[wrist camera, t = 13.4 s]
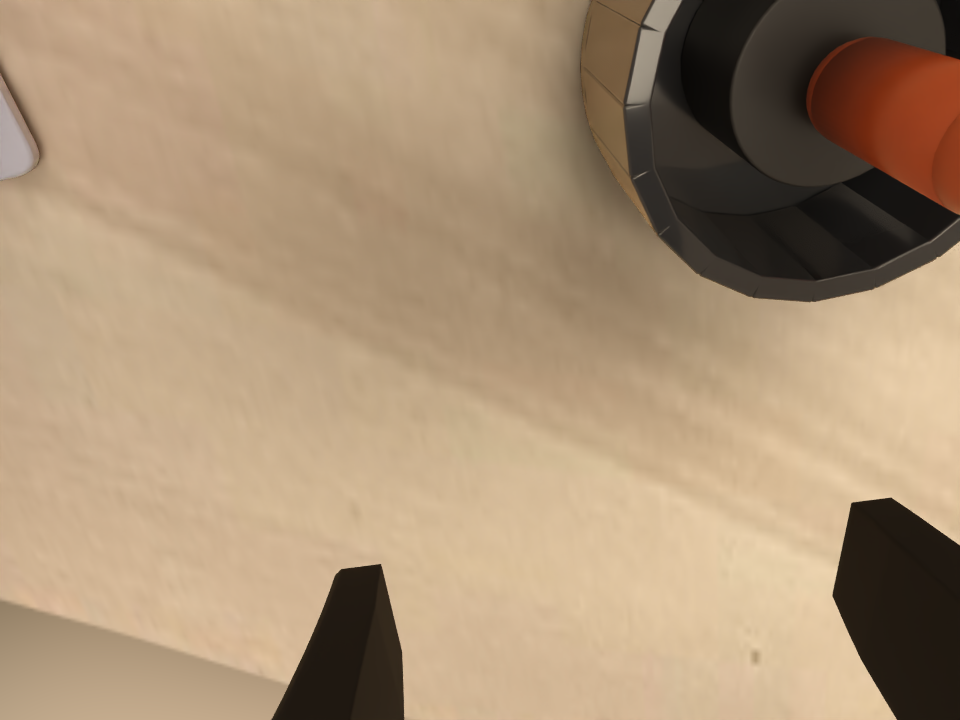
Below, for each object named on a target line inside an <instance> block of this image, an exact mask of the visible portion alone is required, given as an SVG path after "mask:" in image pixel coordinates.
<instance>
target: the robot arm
mask: <svg viewBox="0 0 960 720" xmlns="http://www.w3.org/2000/svg"><path fill="white" fill-rule="evenodd" d="M38 162H39V151H38V147H37V144H36V142H35V140H34V139H33V137H32V135H31V133H30V131H29V129H28V127H27V125H26V123H25V121H24V119H23V117H22V115H21V113H20V111H19V109H18V107H17V105H16V103H15V101H14V99H13V97H12V95H11V94H10V92H9V90H8V88H7V86H6V84H5V82H4V80H3V78H2V76H1V74H0V181H2V180H6V179H10V178H15V177H19V176H22V175H24V174H26V173H28V172H30V171H31V170H32V169H34V168H35V166H36V165H37V163H38ZM832 596H833V598H834V600H835V603H836V605H837V607H838V610H839V612H840V614H841V617H842V619H843V621H844V623H845V626H846V628H847V630H848V633H849V635H850V637H851V639H852V641H853V643H854V645H855V647H856V650H857V652H858V654H859V656H860V658H861V660H862V662H863V663H864V665H865V667H866V669H867V670H868V672H869V674H870V675H871V677H872V679H873V681H874V682H875V684H876V686H877V687H878V689H879V691H880V692H881V694H882V696H883V697H884V699H885V701H886V702H887V704H888V706H889V707H890V709H891V711H892V712H893V714H894V715H895V717H896V719H897V720H960V545H958V544H957V543H956V542H954V541H953V540H951V539H950V538H948V537H947V536H946V535H944V534H943V533H941V532H940V531H939V530H937V529H936V528H934V527H933V526H932V525H930V524H929V523H927V522H926V521H924V520H923V519H922V518H920V517H919V516H917V515H916V514H914V513H913V512H912V511H910V510H909V509H907V508H906V507H904V506H903V505H901V504H900V503H898V502H897V501H895V500H894V499H892V498H885V499H877V500H869V501H862V502H854V503H851V508H850V513H849V518H848V522H847V527H846V532H845V537H844V542H843V547H842V551H841V556H840V561H839V566H838V571H837V576H836V580H835V585H834V590H833V595H832ZM272 720H404V694H403V664H402V650H401V645H400V641H399V637H398V633H397V629H396V625H395V620H394V616H393V612H392V608H391V604H390V599H389V595H388V591H387V587H386V583H385V578H384V574H383V570H382V566H381V564H378V565H370V566H362V567H355V568H347V569H341V570H340V571H339V572H338V573H337V574H336V575H335V577H334V580H333V583H332V586H331V589H330V592H329V594H328V597H327V600H326V602H325V605H324V608H323V610H322V613H321V615H320V618H319V620H318V622H317V625H316V627H315V629H314V632H313V634H312V636H311V639H310V641H309V643H308V646H307V648H306V650H305V652H304V655H303V657H302V659H301V661H300V663H299V665H298V667H297V669H296V671H295V673H294V676H293V678H292V680H291V682H290V684H289V686H288V688H287V690H286V692H285V694H284V697H283V699H282V701H281V702H280V704H279V706H278V708H277V710H276V712H275V714H274V716H273V718H272Z"/></svg>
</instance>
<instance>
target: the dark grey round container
mask: <svg viewBox="0 0 960 720" xmlns="http://www.w3.org/2000/svg"><path fill="white" fill-rule="evenodd" d="M703 2H704V0H591V4H590V7H589V10H588V13H587V18H586V23H585V29H584V34H583V39H582V51H581V67H580V69H581V86H582V96H583V101H584V106H585V111H586V116H587V119H588V122H589V125H590V128H591V131H592V134H593V137H594V140H595V142H596V144H597V146H598V148H599V150H600V152H601V154H602V156H603V158H604V159H605V161H606V162H607V164H608V166H609V168H610V170H611V172H612V174H613V176H614V177H615V179H616V180H617V181H618V183H619V184H620V185H621V187H622V188H623V190H624V191H625V192H626V194H627V195H628V196H629V198H630V199H631V200H632V202H633V203H634V205H635V206H636V207H637V209H638V210H639V211H640V213H641V214H642V216H643V217H644V218H645V220H646V221H647V222H648V224H649V225H650V227H651V228H652V229H653V231H654V232H655V233H656V235H657V236H658V237H659V238H660V239H661V240H662V241H663V242H664V243H665V244H666V245H667V246H668V247H669V248H670V249H671V250H672V251H673V252H674V253H675V254H677V255H678V256H679V257H680V258H681V259H682V260H683V261H684V262H685V263H686V264H687V265H688V266H689V267H690V268H691V269H692V270H693V271H694V272H695V273H696V274H699V275H700V276H701V277H704V278H706V279H708V280H711V281H713V282H716V283H718V284H720V285H723V286H725V287H727V288H730V289H732V290H734V291H737V292H739V293H741V294H744V295H746V296H748V297H753V298H761V299H774V300H788V301H801V302H811V301H812V302H816V301H821V300H826V299H830V298H835V297H840V296H845V295H849V294H854V293H859V292H864V291H868V290H873V289H874V288H878V287H880V286H882V285H884V284H886V283H888V282H890V281H892V280H895V279H897V278H899V277H901V276H903V275H905V274H907V273H909V272H911V271H913V270H915V269H917V268H919V267H921V266H923V265H925V264H928V263H930V262H932V261H934V260H935V259H937V257H941V256H942V255H943V254H944V253H946V252H947V251H948V250H949V249H951V248H952V247H953V246H954V245H956V244H957V243H958V242H959V241H960V215H959V214H956V213H954V212H952V211H950V210H948V209H947V208H945V207H943V206H942V205H940V204H938V203H936V202H935V201H933V200H931V199H929V198H928V197H926V196H924V195H923V194H921V193H919V192H917V191H916V190H914V189H912V188H910V187H909V186H907V185H905V184H903V183H902V182H900V181H898V180H897V179H895V178H893V177H891V176H890V175H888V174H886V173H884V172H883V171H881V170H879V169H878V168H876V167H874V168H872V169H871V170H869V171H867V172H865V173H863V174H861V175H860V176H857V177H855V178H852V179H850V180H848V181H845V182H841V183H838V184H834V185H829V186H823V187H807V188H805V187H795V186H790V185H786V184H782V183H779V182H777V181H775V180H772V179H770V178H768V177H767V176H765V175H764V174H762V173H760V172H759V171H758V170H757V169H755V168H754V167H753V166H751V165H750V164H749V163H748V162H746V161H745V160H744V159H743V158H741V157H740V156H739V155H737V154H736V153H735V152H734V151H732V150H731V149H730V148H728V147H727V146H726V145H725V144H723V143H722V142H721V141H720V140H718V139H717V138H716V137H714V136H713V135H712V134H711V133H709V132H708V131H707V130H706V129H705V128H704V127H703V126H702V125H701V124H700V123H699V122H698V120H697V119H696V118H695V116H694V114H693V113H692V111H691V110H690V107H689V105H688V103H687V100H686V97H685V94H684V90H683V84H682V76H681V62H682V54H683V48H684V44H685V40H686V36H687V33H688V31H689V28H690V25H691V23H692V21H693V19H694V17H695V15H696V13H697V11H698V9H699V8H700V6H701V5H702V3H703ZM936 2H937V4H938V7H939V9H940V12H941V14H942V18H943V22H944V27H945V35H946V56H949V57H952V58H956V59H959V60H960V0H936Z"/></svg>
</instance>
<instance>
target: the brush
mask: <svg viewBox="0 0 960 720" xmlns="http://www.w3.org/2000/svg"><path fill="white" fill-rule="evenodd" d="M681 76H682V84H683V90H684V94H685V97H686V100H687V103H688V105H689V107H690V110H691V111H692V113H693V114H694V116H695V118H696V119H697V120H698V122H699V123H700V124H701V125H702V126H703V127H704V128H705V129H706V130H707V131H708V132H709V133H711V134H712V135H713V136H714V137H716V138H717V139H718V140H720V141H721V142H722V143H723V144H725V145H726V146H727V147H728V148H730V149H731V150H732V151H734V152H735V153H736V154H737V155H739V156H740V157H741V158H743V159H744V160H745V161H746V162H748V163H749V164H750V165H751V166H753V167H754V168H755V169H757V170H758V171H759V172H760V173H762V174H764V175H765V176H767V177H768V178H770V179H772V180H775V181H777V182H779V183H782V184H786V185H790V186H795V187H805V188H807V187H823V186H829V185H834V184H838V183H841V182H845V181H848V180H850V179H852V178H855V177H857V176H860V175H861V174H863V173H865V172H867V171H869V170H871V169H872V168H874V167H876V168H878V169H879V170H881V171H883V172H884V173H886V174H888V175H890V176H891V177H893V178H895V179H897V180H898V181H900V182H902V183H903V184H905V185H907V186H909V187H910V188H912V189H914V190H916V191H917V192H919V193H921V194H923V195H924V196H926V197H928V198H929V199H931V200H933V201H935V202H936V203H938V204H940V205H942V206H943V207H945V208H947V209H948V210H950V211H952V212H954V213H956V214H959V215H960V60H959V59H956V58H952V57H949V56H946V35H945V27H944V22H943V18H942V14H941V12H940V9H939V7H938V4H937V2H936V0H704V2H703V3H702V5H701V6H700V8H699V9H698V11H697V13H696V15H695V17H694V19H693V21H692V23H691V25H690V28H689V31H688V33H687V36H686V40H685V44H684V48H683V54H682V62H681Z"/></svg>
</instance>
